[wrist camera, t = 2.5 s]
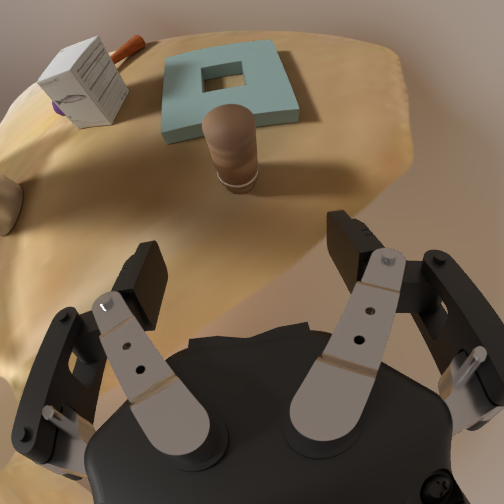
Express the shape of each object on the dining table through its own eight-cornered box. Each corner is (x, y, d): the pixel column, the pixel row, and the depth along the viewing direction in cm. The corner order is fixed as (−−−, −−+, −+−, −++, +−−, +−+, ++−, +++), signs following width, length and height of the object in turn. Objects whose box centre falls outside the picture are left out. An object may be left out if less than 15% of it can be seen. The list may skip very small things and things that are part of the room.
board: (167, 144, 30) (160, 132, 27) (170, 69, 33) (165, 57, 31) (297, 122, 30) (299, 108, 27) (271, 51, 33) (271, 39, 31)
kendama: (148, 33, 32) (57, 106, 27) (151, 55, 38) (70, 126, 33) (127, 27, 32) (41, 96, 27) (131, 48, 37) (55, 115, 33)
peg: (223, 201, 28) (202, 148, 18) (219, 167, 29) (199, 108, 19) (262, 194, 28) (259, 138, 18) (255, 161, 29) (250, 99, 19)
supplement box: (77, 130, 32) (34, 83, 20) (96, 95, 34) (62, 47, 21) (112, 126, 31) (69, 69, 19) (131, 90, 33) (99, 33, 21)
